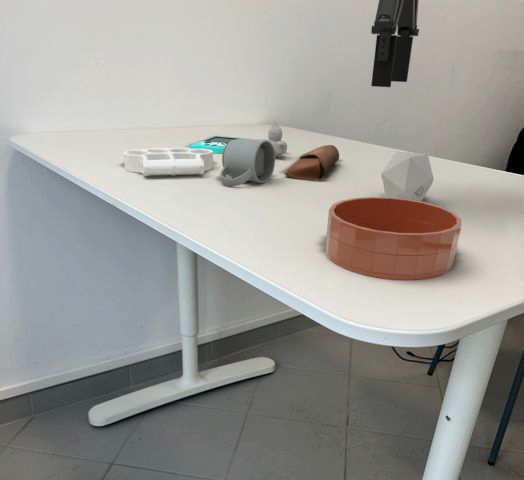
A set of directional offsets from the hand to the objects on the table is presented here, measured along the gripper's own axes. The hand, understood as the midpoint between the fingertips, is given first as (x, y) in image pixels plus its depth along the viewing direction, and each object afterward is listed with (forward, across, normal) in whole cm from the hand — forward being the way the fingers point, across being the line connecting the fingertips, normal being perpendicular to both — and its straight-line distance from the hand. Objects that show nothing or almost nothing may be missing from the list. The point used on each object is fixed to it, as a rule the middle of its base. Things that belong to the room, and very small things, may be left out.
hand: (390, 84), depth 84 cm
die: (+19, -2, +4) cm, 19 cm away
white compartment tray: (+18, -3, -43) cm, 47 cm away
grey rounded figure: (+18, -27, -29) cm, 44 cm away
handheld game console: (+18, -32, -46) cm, 59 cm away
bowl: (+18, +26, +7) cm, 32 cm away
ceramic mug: (+18, -2, -26) cm, 32 cm away
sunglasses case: (+18, -18, -17) cm, 31 cm away
